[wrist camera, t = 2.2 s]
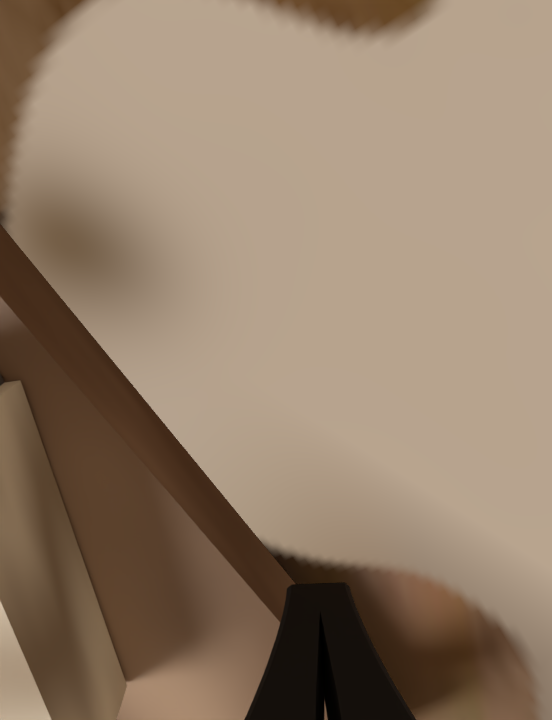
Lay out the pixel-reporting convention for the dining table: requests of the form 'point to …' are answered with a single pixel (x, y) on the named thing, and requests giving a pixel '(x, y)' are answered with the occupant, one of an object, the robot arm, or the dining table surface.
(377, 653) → the robot arm
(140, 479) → the stool seat
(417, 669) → the dining table surface
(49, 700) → the stool leg
